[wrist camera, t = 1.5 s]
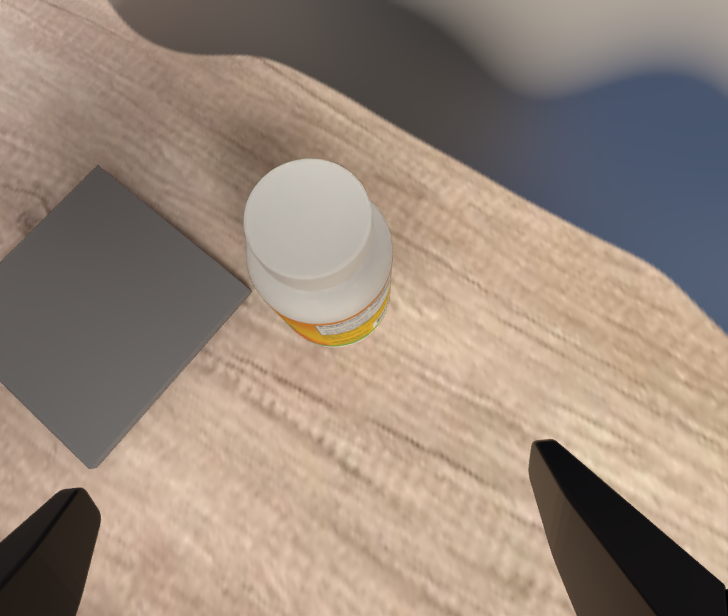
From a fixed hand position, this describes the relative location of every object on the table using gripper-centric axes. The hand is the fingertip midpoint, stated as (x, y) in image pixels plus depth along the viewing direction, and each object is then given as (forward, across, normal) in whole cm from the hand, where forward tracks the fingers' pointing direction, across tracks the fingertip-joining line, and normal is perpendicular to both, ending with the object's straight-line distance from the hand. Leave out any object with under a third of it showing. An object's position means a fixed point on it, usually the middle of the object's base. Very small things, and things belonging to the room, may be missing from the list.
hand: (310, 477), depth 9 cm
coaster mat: (+15, +12, +4) cm, 19 cm away
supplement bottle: (+14, 0, +4) cm, 15 cm away
